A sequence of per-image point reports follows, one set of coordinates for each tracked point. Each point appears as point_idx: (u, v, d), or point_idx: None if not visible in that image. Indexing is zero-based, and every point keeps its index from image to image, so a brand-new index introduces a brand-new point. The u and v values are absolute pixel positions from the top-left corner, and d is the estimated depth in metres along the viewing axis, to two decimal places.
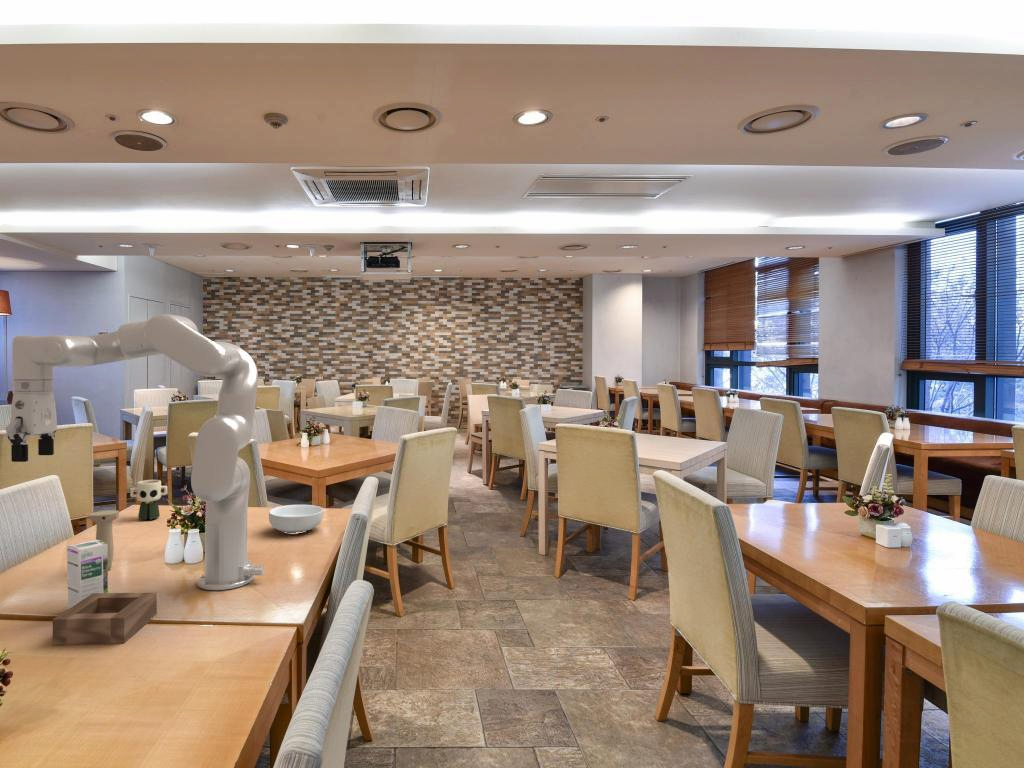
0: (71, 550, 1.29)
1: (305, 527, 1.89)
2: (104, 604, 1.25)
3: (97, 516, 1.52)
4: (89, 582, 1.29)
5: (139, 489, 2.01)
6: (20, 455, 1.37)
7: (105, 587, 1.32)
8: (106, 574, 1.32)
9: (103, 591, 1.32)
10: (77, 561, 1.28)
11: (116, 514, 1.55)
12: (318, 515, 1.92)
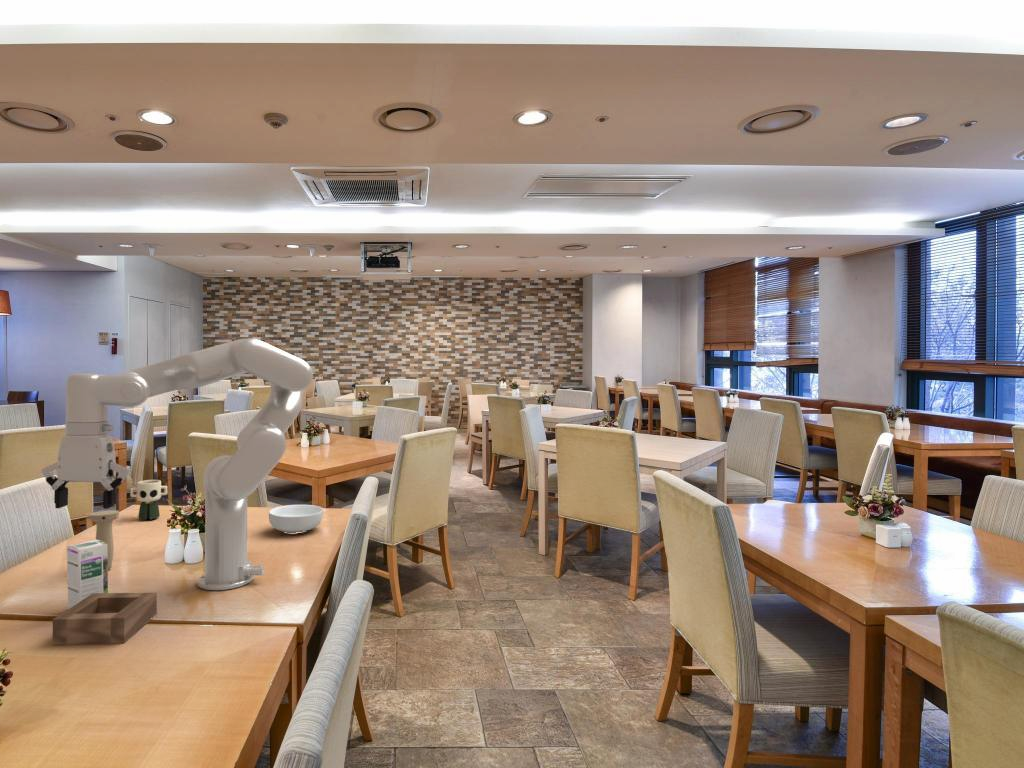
0: (71, 550, 1.29)
1: (305, 527, 1.89)
2: (104, 604, 1.25)
3: (97, 516, 1.52)
4: (89, 582, 1.29)
5: (139, 489, 2.01)
6: (115, 499, 1.32)
7: (105, 587, 1.32)
8: (106, 574, 1.32)
9: (103, 591, 1.32)
10: (77, 561, 1.28)
11: (116, 514, 1.55)
12: (318, 515, 1.92)
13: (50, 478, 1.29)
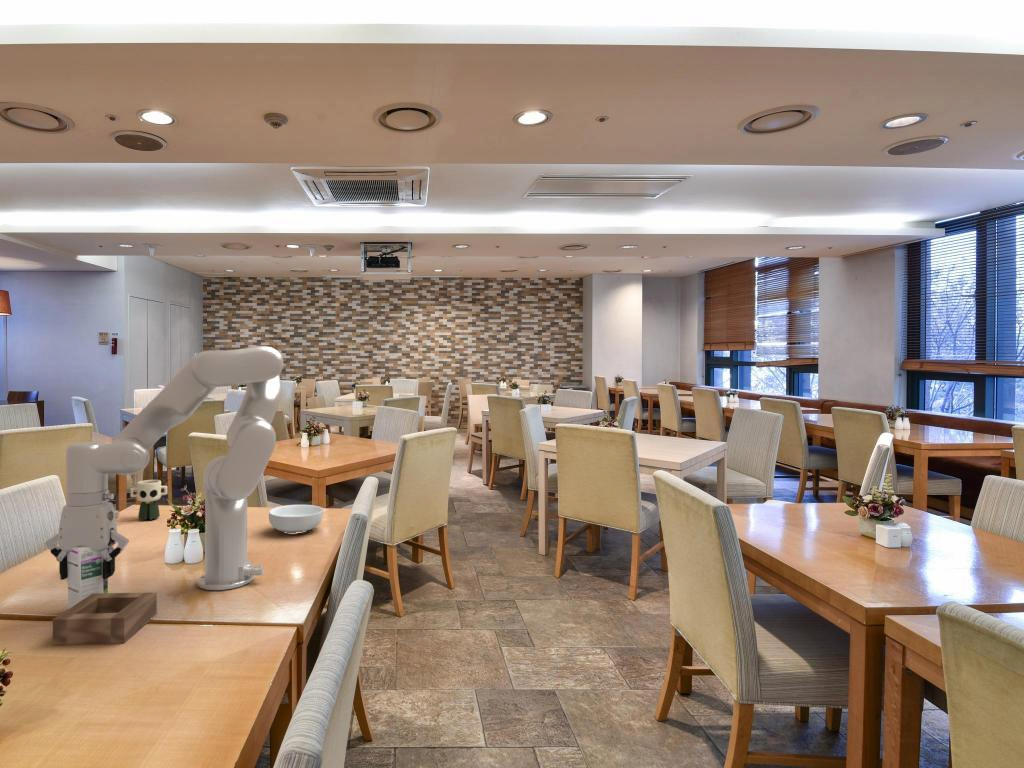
0: None
1: (305, 527, 1.89)
2: (104, 604, 1.25)
3: None
4: (89, 582, 1.29)
5: (139, 489, 2.01)
6: (114, 568, 1.33)
7: (105, 587, 1.32)
8: None
9: (103, 591, 1.32)
10: (77, 561, 1.28)
11: (116, 514, 1.55)
12: (318, 515, 1.92)
13: (55, 550, 1.30)
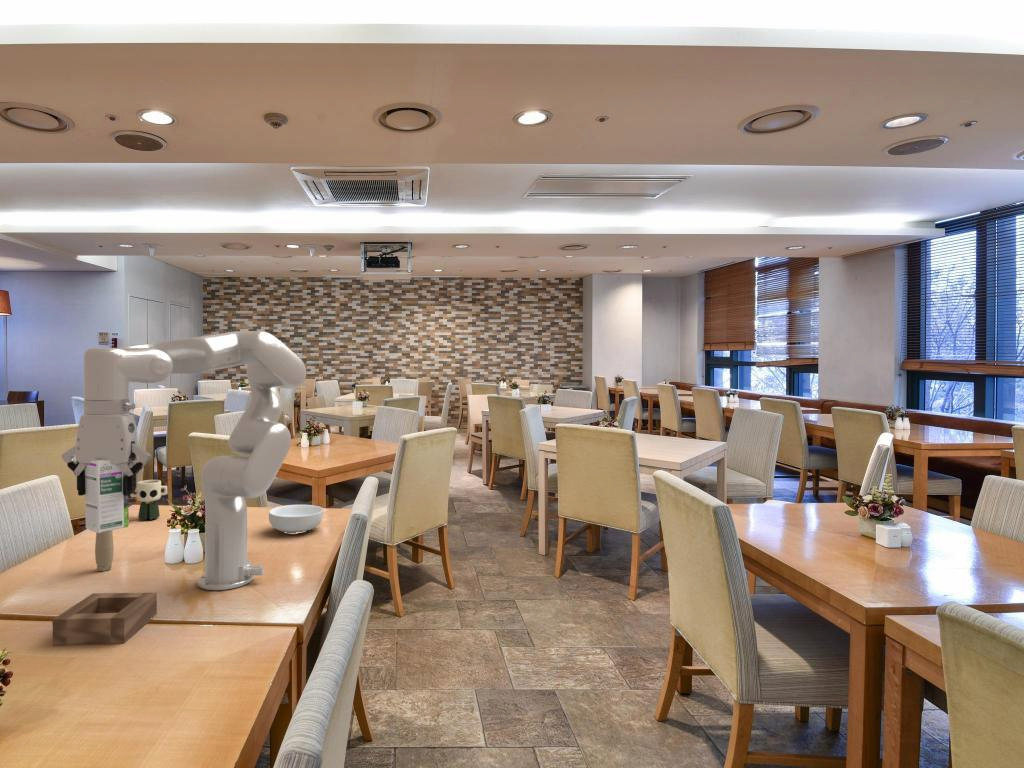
0: None
1: (305, 527, 1.89)
2: (104, 604, 1.25)
3: None
4: (109, 498, 1.19)
5: (139, 489, 2.01)
6: None
7: (125, 505, 1.22)
8: None
9: (123, 509, 1.21)
10: (96, 474, 1.18)
11: None
12: (318, 515, 1.92)
13: (72, 463, 1.20)
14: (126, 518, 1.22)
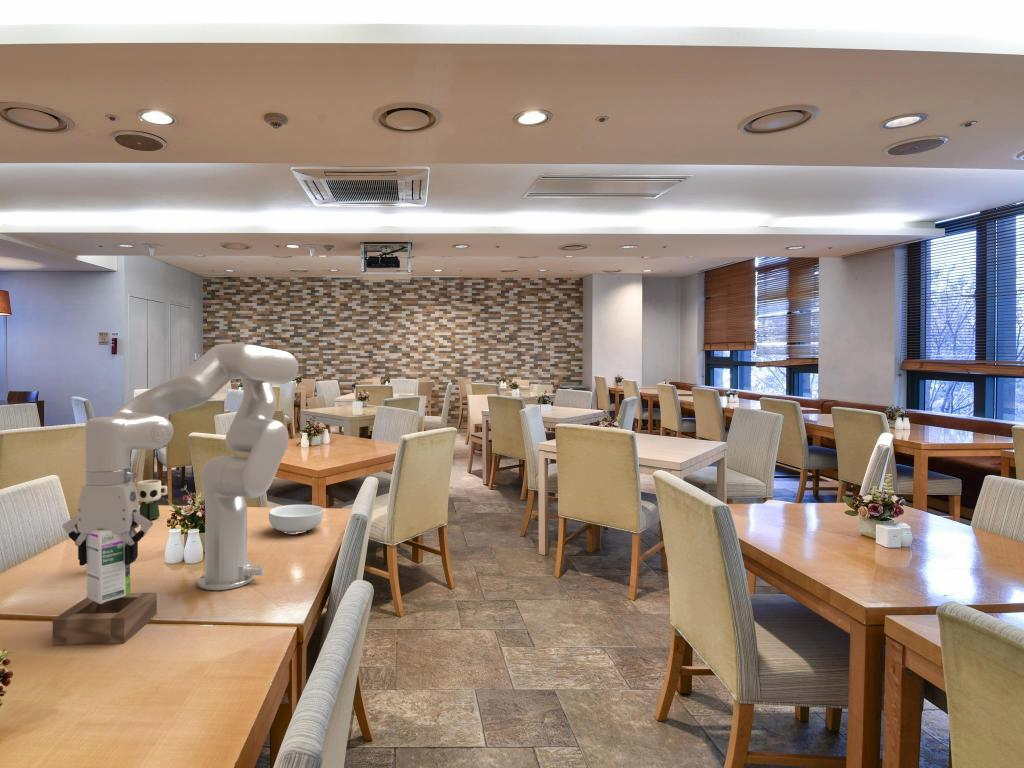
0: None
1: (305, 527, 1.89)
2: (104, 604, 1.25)
3: None
4: (111, 568, 1.19)
5: (139, 489, 2.01)
6: (137, 553, 1.23)
7: (127, 573, 1.22)
8: None
9: (125, 578, 1.22)
10: (98, 545, 1.18)
11: None
12: (318, 515, 1.92)
13: (73, 533, 1.20)
14: (128, 586, 1.22)
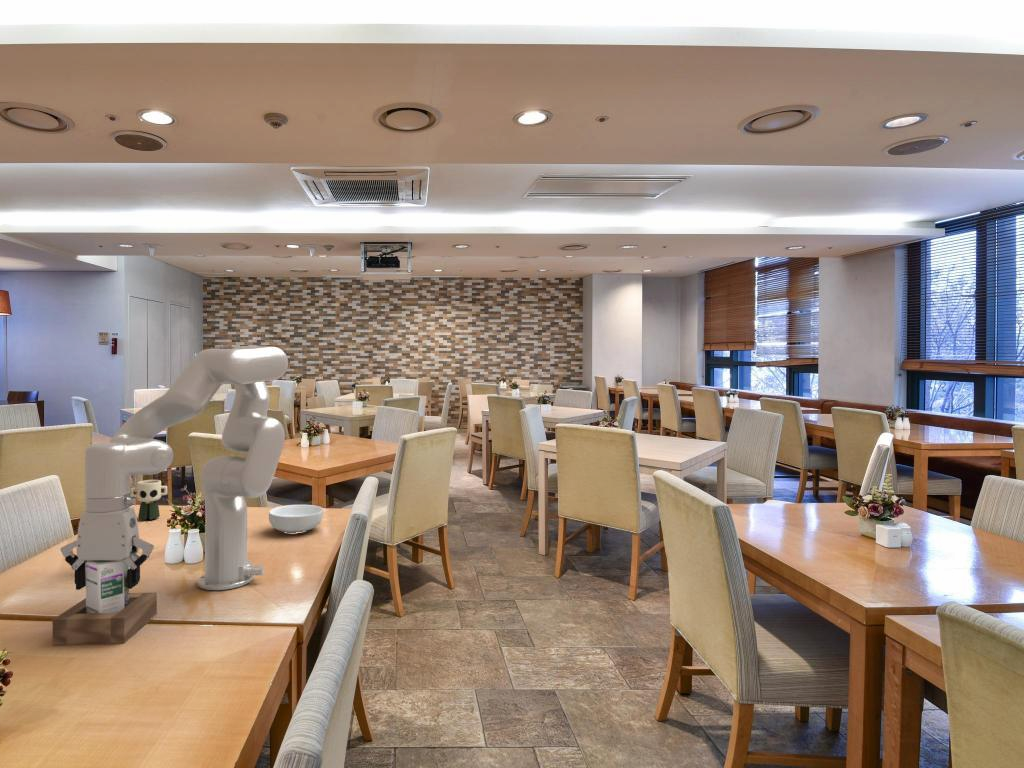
0: (90, 566, 1.19)
1: (305, 527, 1.89)
2: None
3: None
4: (110, 601, 1.19)
5: (139, 489, 2.01)
6: (139, 577, 1.23)
7: None
8: (127, 592, 1.22)
9: None
10: (97, 578, 1.18)
11: None
12: (318, 515, 1.92)
13: (69, 557, 1.20)
14: None
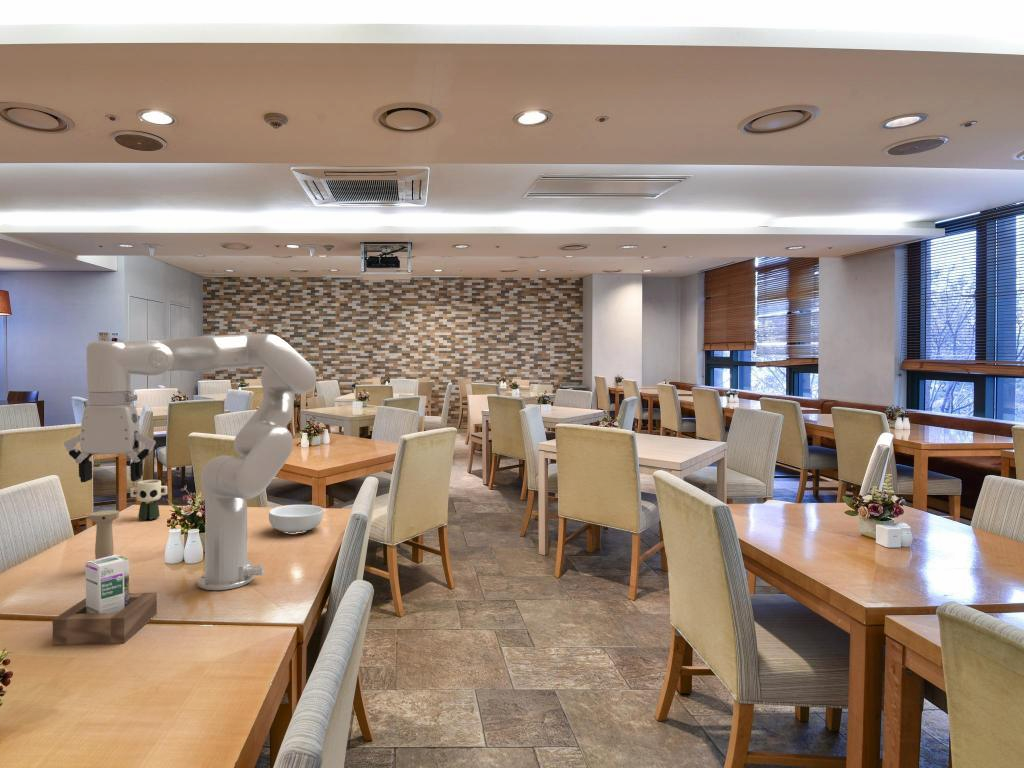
0: (90, 566, 1.19)
1: (305, 527, 1.89)
2: None
3: (97, 516, 1.52)
4: (110, 601, 1.19)
5: (139, 489, 2.01)
6: (142, 471, 1.27)
7: None
8: (127, 592, 1.22)
9: None
10: (97, 578, 1.18)
11: (116, 514, 1.55)
12: (318, 515, 1.92)
13: (73, 451, 1.24)
14: None
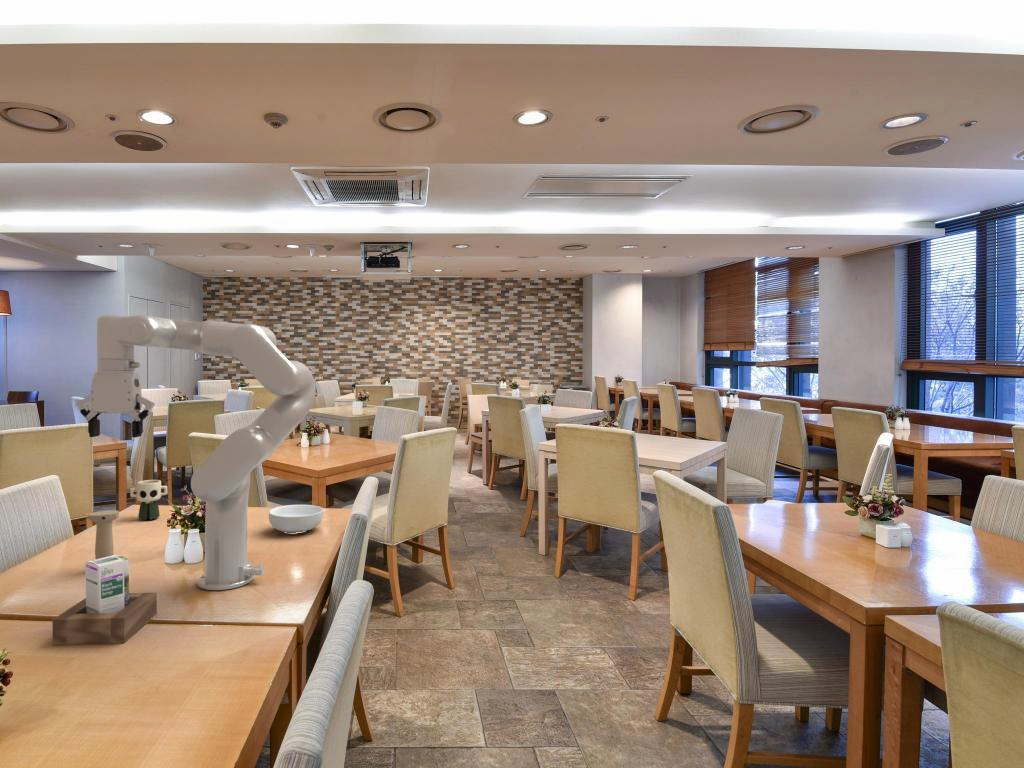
0: (90, 566, 1.19)
1: (305, 527, 1.89)
2: None
3: (97, 516, 1.52)
4: (110, 601, 1.19)
5: (139, 489, 2.01)
6: (142, 429, 1.46)
7: None
8: (127, 592, 1.22)
9: None
10: (97, 578, 1.18)
11: (116, 514, 1.55)
12: (318, 515, 1.92)
13: (84, 410, 1.43)
14: None
